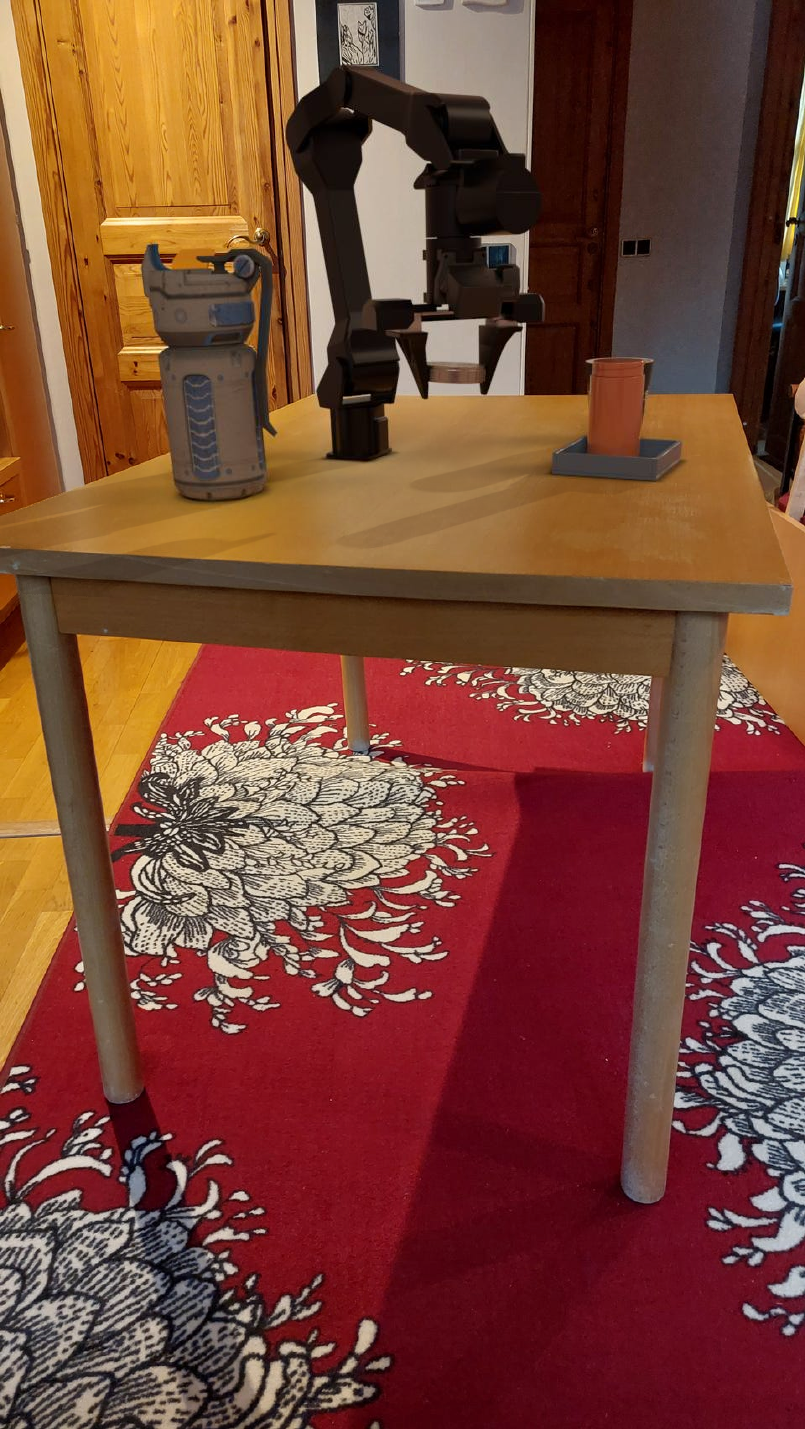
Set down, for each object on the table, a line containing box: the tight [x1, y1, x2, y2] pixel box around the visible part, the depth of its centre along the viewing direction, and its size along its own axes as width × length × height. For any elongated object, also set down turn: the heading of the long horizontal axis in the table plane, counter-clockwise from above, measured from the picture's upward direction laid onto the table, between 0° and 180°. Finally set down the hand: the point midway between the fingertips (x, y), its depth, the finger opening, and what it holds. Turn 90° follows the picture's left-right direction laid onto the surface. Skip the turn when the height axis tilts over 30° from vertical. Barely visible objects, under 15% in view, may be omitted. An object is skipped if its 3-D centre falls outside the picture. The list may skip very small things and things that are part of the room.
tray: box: [551, 435, 683, 482], centre depth 114 cm, size 12×12×2 cm
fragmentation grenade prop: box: [140, 243, 278, 502], centre depth 103 cm, size 10×13×25 cm
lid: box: [427, 361, 486, 385], centre depth 106 cm, size 7×7×2 cm
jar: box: [586, 357, 645, 457], centre depth 112 cm, size 6×6×12 cm
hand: (454, 396), depth 107 cm, fingers closed on lid, 6 cm apart
